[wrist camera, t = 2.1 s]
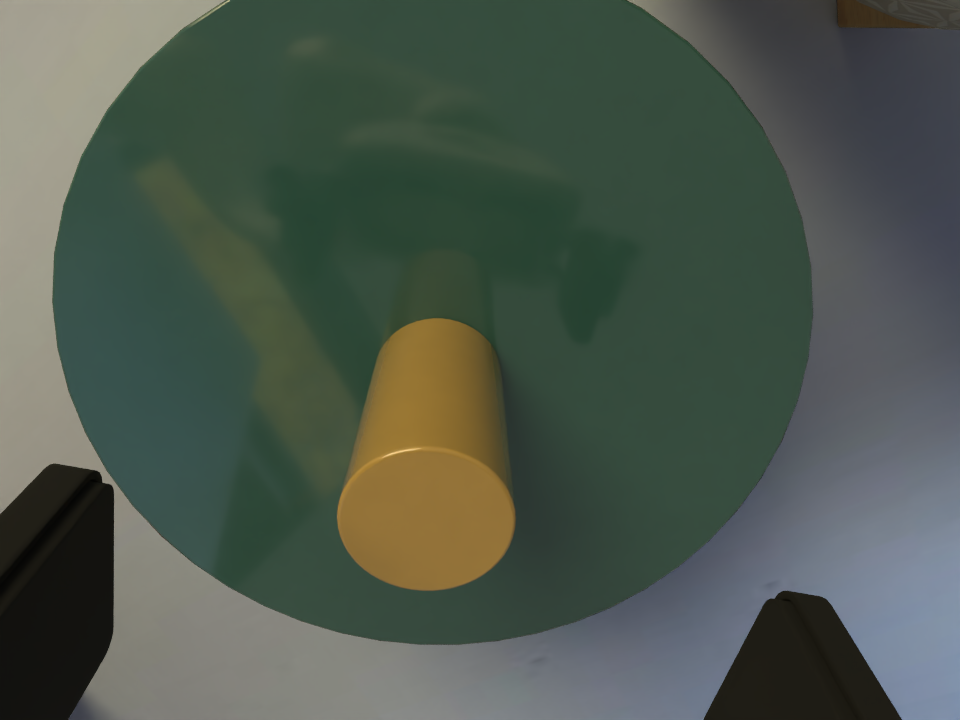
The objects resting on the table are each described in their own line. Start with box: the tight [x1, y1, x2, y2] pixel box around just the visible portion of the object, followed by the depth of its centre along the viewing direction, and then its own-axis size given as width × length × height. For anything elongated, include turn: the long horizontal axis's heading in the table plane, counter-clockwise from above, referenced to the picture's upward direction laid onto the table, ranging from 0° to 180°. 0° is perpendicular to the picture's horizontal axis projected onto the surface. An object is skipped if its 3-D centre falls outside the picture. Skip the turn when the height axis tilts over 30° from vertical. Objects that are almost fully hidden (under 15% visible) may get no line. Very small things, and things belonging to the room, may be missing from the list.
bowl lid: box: [52, 0, 813, 645], centre depth 15 cm, size 18×18×7 cm
